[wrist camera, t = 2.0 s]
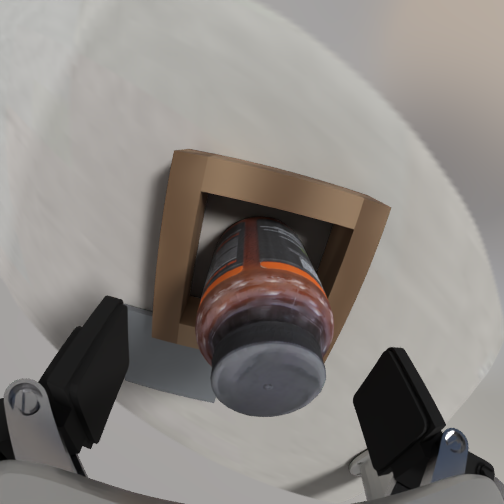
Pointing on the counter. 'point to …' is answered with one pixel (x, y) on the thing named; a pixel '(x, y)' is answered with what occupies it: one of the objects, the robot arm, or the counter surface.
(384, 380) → the robot arm
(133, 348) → the slate coaster
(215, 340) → the supplement bottle
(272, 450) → the counter surface
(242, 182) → the pocket frame
